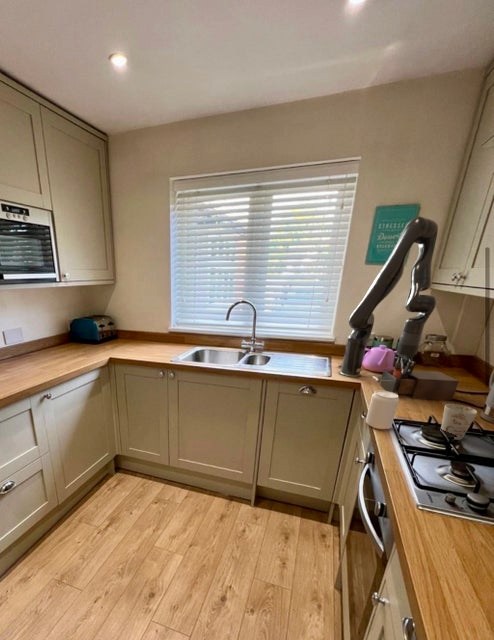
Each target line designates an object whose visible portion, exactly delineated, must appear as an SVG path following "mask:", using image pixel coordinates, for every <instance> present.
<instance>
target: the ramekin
mask: <svg viewBox="0 0 494 640" xmlns="http://www.w3.org/2000/svg"><path fill="white" fill-rule="evenodd" d="M404 371H405V370H404ZM392 372H393V376H395V377H396V378H398V379H399V380H400V377H401V374H402V369H394V370H393V371H392ZM407 377H408V375H407ZM406 379H407V378H406ZM398 382H399V383H400V381H398Z"/></svg>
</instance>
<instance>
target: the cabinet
mask: <svg viewBox="0 0 494 640" xmlns="http://www.w3.org/2000/svg"><path fill="white" fill-rule="evenodd" d="M409 371H410V369H409ZM408 375H410V376H411V377H413V378H415V379H417V383H416V386H415V389H414V393H413V394H407V395H408V396H409V397H411V398H412V399H423V400H439V401H453V399H454V396H455V394H456V391H457V388H458V385H459V382H460V380H458V379H455V378H454V377H452V376H450V375H448V374H445V373H443V372H441V371H431V370H416V369H415V370H414V369H413V371H412V373H411V374H408Z"/></svg>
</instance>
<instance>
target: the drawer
mask: <svg viewBox="0 0 494 640" xmlns="http://www.w3.org/2000/svg"><path fill="white" fill-rule="evenodd" d="M393 372H394V371H391V372H387V371H383V372H382V375H381V376H376V375H372V376H371V377H372V380H374V381H375V382H377V383H379V386H380V387H382V388H383V389H384V390H385V391H388V392H392V393H395V394H403V395H408V394H413V393H414V389H415V386H416V383H417V379H415V378H413V377H411V376H410V375H408V377H407V379H400V383H399V382H398V381H399V379H398V378H396V377H395V376H393Z"/></svg>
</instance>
